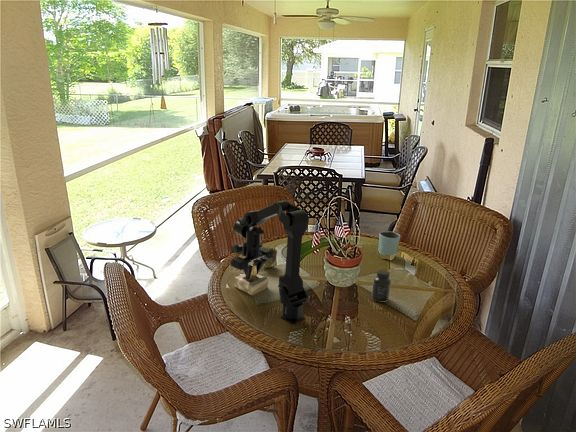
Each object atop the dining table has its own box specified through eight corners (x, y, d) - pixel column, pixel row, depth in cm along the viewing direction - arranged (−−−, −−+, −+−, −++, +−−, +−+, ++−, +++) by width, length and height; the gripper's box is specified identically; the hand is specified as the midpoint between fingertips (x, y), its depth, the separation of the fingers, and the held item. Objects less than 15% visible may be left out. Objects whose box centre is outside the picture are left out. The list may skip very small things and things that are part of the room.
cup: (274, 271, 185) (275, 255, 183) (258, 269, 187) (258, 252, 184) (277, 264, 192) (278, 248, 190) (262, 262, 194) (263, 246, 191)
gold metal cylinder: (258, 280, 170) (259, 265, 168) (251, 283, 167) (252, 268, 165) (251, 277, 172) (251, 261, 170) (244, 280, 170) (244, 264, 167)
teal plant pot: (376, 259, 206) (379, 236, 202) (375, 251, 215) (379, 229, 211) (397, 262, 205) (401, 239, 201) (395, 253, 214) (399, 232, 210)
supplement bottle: (391, 299, 169) (395, 272, 165) (382, 305, 164) (386, 277, 160) (376, 292, 174) (380, 266, 170) (367, 298, 169) (371, 271, 165)
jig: (267, 287, 171) (268, 277, 170) (252, 295, 164) (252, 284, 163) (250, 279, 177) (250, 269, 175) (234, 286, 170) (234, 275, 169)
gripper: (255, 230, 176) (253, 264, 181) (221, 241, 162) (220, 277, 167) (274, 238, 169) (272, 272, 174) (241, 250, 156) (240, 287, 161)
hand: (251, 277), depth 169 cm, fingers closed on gold metal cylinder, 4 cm apart
